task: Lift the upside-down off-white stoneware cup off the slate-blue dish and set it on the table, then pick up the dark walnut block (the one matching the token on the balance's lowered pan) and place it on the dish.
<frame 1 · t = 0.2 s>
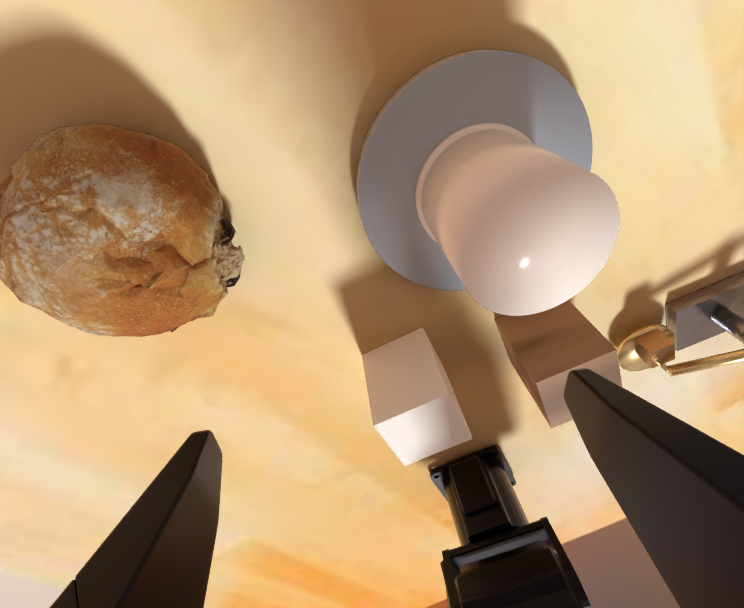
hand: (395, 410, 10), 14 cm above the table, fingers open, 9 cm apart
dish: (468, 182, 21), on the table
walnut block: (533, 328, 28), on the table
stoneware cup: (476, 190, 21), point 1 cm above the table, touching dish
beige block: (404, 362, 28), on the table
balance: (708, 306, 29), on the table
bread roll: (143, 223, 21), on the table
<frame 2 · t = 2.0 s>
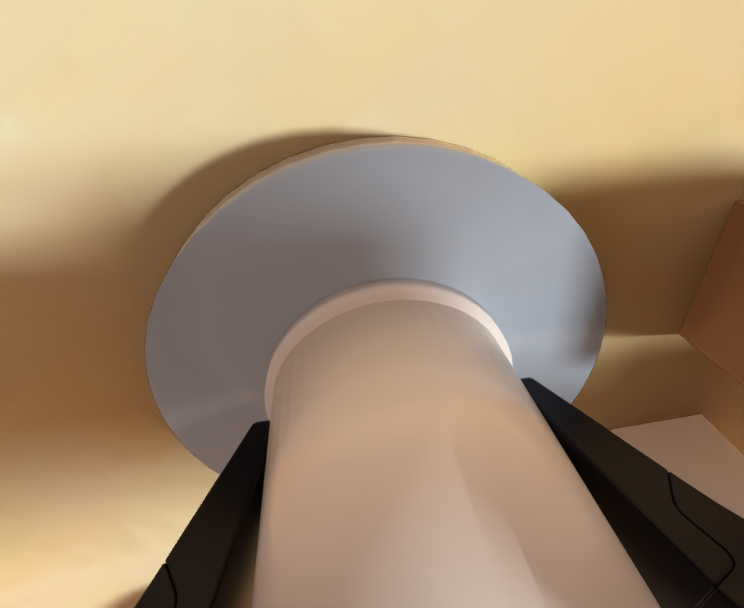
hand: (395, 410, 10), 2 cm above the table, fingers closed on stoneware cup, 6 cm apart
dish: (381, 352, 12), on the table
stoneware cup: (388, 381, 11), point 1 cm above the table, touching dish, gripper
beige block: (630, 458, 17), on the table
when the fingers open (3 cm above the table, at t = 5.5 s): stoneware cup drops 2 cm, on the table.
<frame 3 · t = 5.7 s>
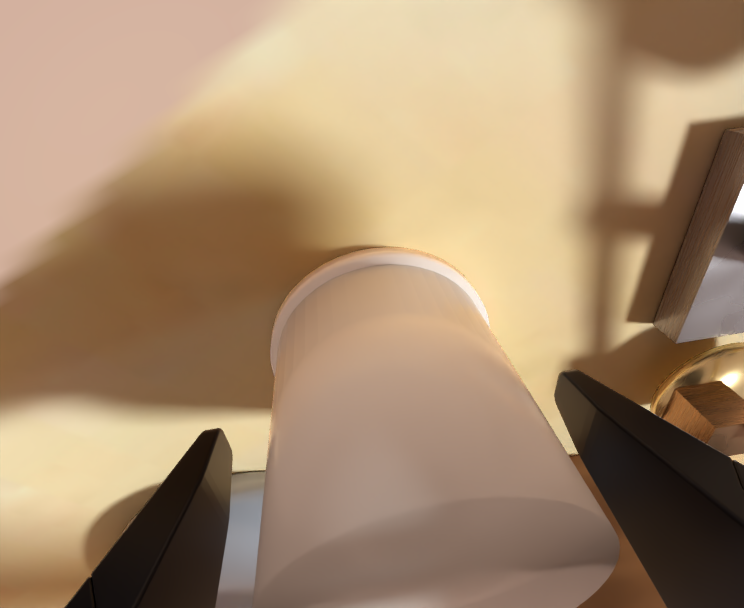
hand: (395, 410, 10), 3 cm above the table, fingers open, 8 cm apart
dish: (267, 553, 18), on the table
walnut block: (529, 492, 18), on the table
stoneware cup: (380, 342, 12), on the table
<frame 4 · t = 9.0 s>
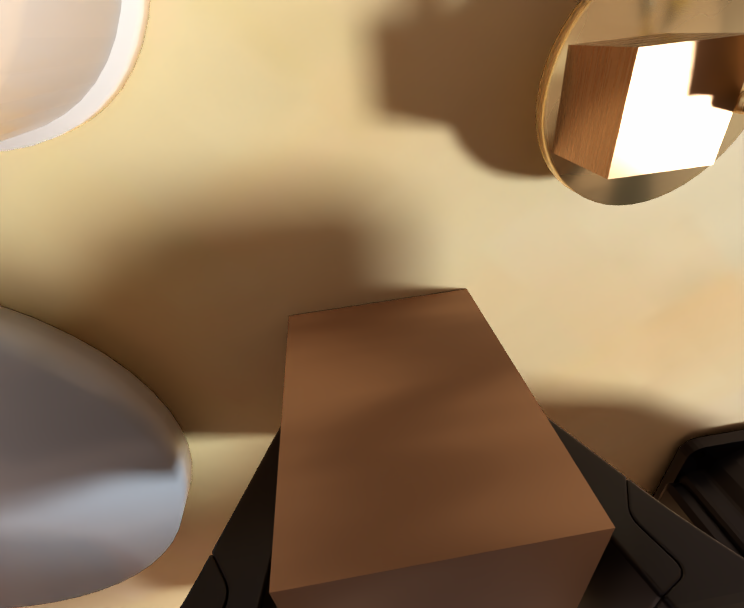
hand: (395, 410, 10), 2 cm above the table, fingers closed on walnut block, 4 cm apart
walnut block: (385, 368, 11), on the table, touching gripper
when the fingers open (4 cm above the table, at t = 12.7 s): walnut block drops 1 cm, resting on dish.
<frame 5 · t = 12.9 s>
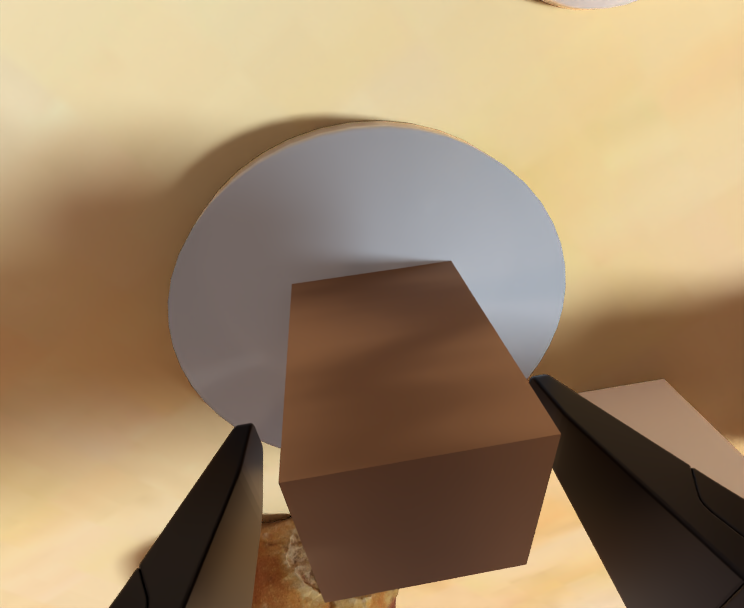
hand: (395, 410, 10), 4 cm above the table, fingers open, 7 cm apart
dish: (371, 314, 14), on the table
walnut block: (378, 335, 13), point 1 cm above the table, touching dish
beige block: (601, 421, 19), on the table
bread roll: (301, 552, 22), on the table
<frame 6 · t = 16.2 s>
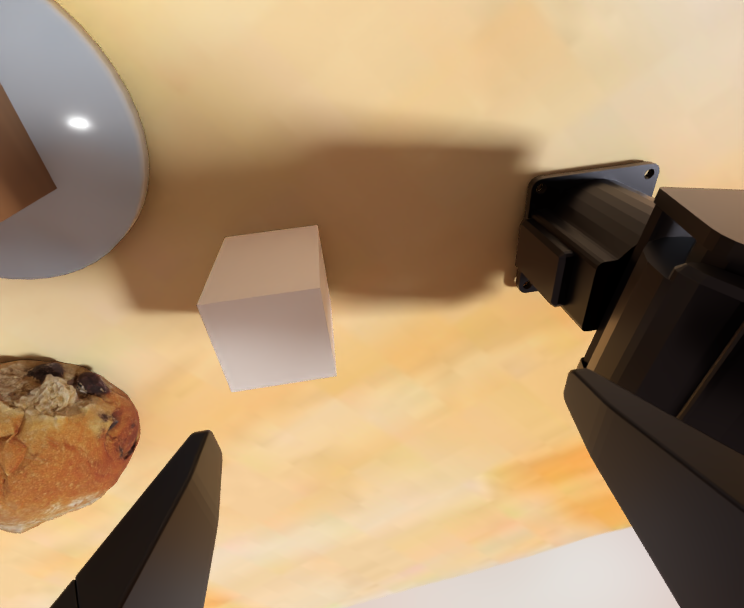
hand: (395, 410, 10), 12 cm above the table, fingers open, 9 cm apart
beige block: (281, 270, 21), on the table
bread roll: (58, 409, 25), on the table
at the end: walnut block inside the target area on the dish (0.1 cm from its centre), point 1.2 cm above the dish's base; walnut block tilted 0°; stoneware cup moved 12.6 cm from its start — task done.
